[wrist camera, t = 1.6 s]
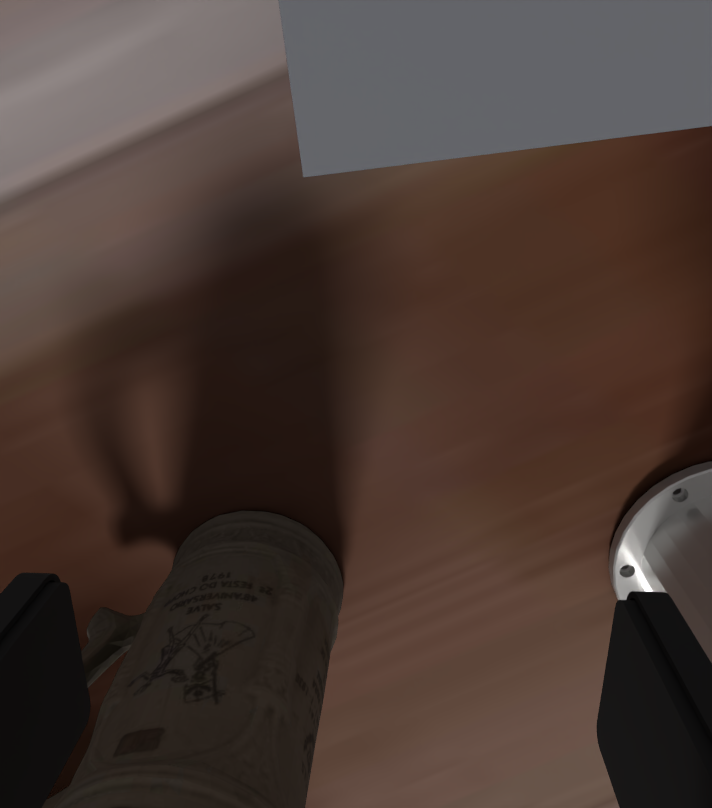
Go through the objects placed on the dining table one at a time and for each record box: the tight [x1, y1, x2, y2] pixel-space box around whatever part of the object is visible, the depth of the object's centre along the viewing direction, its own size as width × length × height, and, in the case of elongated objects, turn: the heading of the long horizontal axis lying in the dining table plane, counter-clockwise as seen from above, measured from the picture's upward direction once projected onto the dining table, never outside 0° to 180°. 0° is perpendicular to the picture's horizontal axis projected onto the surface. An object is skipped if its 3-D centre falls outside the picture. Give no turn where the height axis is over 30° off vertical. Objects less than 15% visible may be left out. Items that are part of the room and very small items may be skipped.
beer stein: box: [42, 511, 343, 808], centre depth 33 cm, size 15×11×20 cm
